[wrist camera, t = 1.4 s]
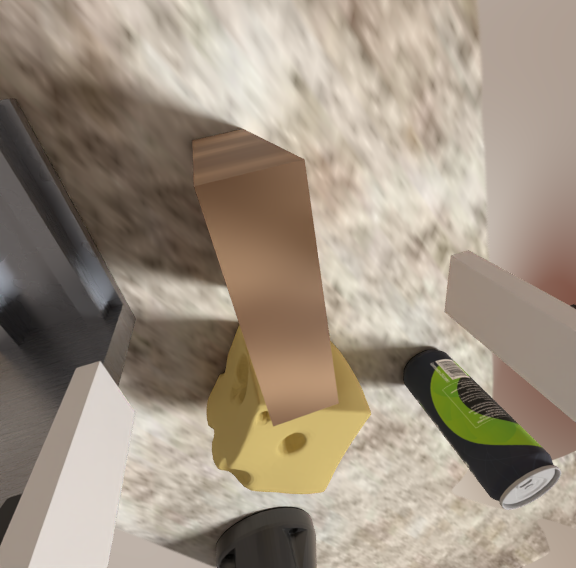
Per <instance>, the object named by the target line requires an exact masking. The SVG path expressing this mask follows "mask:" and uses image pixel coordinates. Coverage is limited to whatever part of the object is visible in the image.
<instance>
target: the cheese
mask: <svg viewBox="0 0 576 568" xmlns="http://www.w3.org/2000/svg"><path fill="white" fill-rule="evenodd" d="M330 344H331V351H332V358H333V366H334V373H335V380H336V387H337V394H338V401H339V404H336V405H333V406H330V407H327V408H325V409H322V410H319V411H316V412H313V413H310V414H308V415H305V416H302V417H299V418H296V419H293V420H291V421H288V422H285V423H282V424H279V425H276V426H274V427H273V424H272V421H271V418H270V415H269V412H268V409H267V406H266V403H265V400H264V397H263V394H262V391H261V388H260V385H259V382H258V379H257V376H256V373H255V370H254V367H253V364H252V361H251V358H250V355H249V352H248V349H247V346H246V343H245V340H244V337H243V334H242V331H241V328H240V325H239V326H238V329H237V332H236V334H235V337H234V339H233V342H232V345H231V348H230V350H229V354H228V357H227V364H226V370H225V373H224V374H220V375H219V377H218V379H217V381H216V384H215V386H214V388H213V390H212V391H211V394H210V396H209V398H208V402H207V421H208V425H209V426H210V427H211V428H213V429H214V439H213V442H212V454H213V460H214V463H215V465H216V466H217V468H218V469H220V470H226V471H229V472H231V473H232V474H233V475H234V476H235V477H236V478H237V479H238V480H239V482H240V483H241V484H242V485H243V486H244V487H246V488H248V489H250V490H252V491H261V492H279V493H290V494H312V493H320V492H324V491H325V489H326V487H327V486H328V484H329V482H330V480H331V478H332V476H333V474H334V471H335V469H336V467H337V466H338V464H339V462H340V460H341V459H342V457H343V455H344V454H345V452H346V451H347V449H348V447H349V446H350V444H351V442H352V441H353V439H354V438H355V437H356V435H357V434H358V432H359V431H360V429H361V428H362V426H363V425H364V423H365V422H366V421H367V419H368V418H369V417H370V415H371V411H370V409H369V406H368V404H367V401H366V398H365V396H364V393H363V390H362V388H361V386H360V384H359V382H358V380H357V378H356V376H355V374H354V373H353V371H352V369H351V368H350V366H349V364H348V363H347V361H346V360H345V358H344V357H343V355H342V354H341V352H340V351H339V350H338V349H337V348H336V346H335V345H334V344H333V343H332V342H331V341H330Z"/></svg>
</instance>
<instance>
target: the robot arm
mask: <svg viewBox="0 0 576 568" xmlns="http://www.w3.org/2000/svg"><path fill="white" fill-rule="evenodd" d="M444 312H445V313H447V314H448V315H449V316H450V317H451V318H453V319H454V320H455V321H456V322H457V323H458V324H460V325H461V326H462V327H463V328H464V329H466V330H467V331H468V332H469V333H470V334H471V335H473V336H474V337H475V338H476V339H477V340H479V341H480V342H481V343H482V344H483V345H485V346H486V347H487V348H488V349H489V350H490V351H492V352H493V353H494V354H495V355H496V356H498V357H499V358H500V359H501V360H502V361H503V362H505V363H506V364H507V365H508V366H509V367H511V368H512V369H513V370H514V371H515V372H516V373H518V374H519V375H520V376H521V377H523V378H524V379H525V380H526V381H527V382H528V383H530V384H531V385H532V386H533V387H534V388H535V389H537V390H538V391H539V392H540V393H541V394H543V395H544V396H545V397H546V398H547V399H549V400H550V401H551V402H552V403H553V404H555V405H556V406H557V407H558V408H559V409H560V410H561V411H563V412H564V413H565V414H566V415H567V416H569V417H570V418H571V419H572V420H573V421H575V422H576V305H574V304H573V305H571V306H569V305H567V304H565V303H563V302H562V301H560V300H558V299H556V298H555V297H553V296H551V295H549V294H547V293H545V292H543V291H542V290H540V289H538V288H536V287H535V286H533V285H531V284H529V283H527V282H525V281H523V280H522V279H520V278H518V277H516V276H514V275H513V274H511V273H509V272H507V271H505V270H504V269H502V268H500V267H498V266H496V265H494V264H493V263H491V262H489V261H487V260H485V259H484V258H482V257H480V256H478V255H476V254H474V253H473V252H471V251H469V250H468V251H464V252H461V253H458V254H454V255H451V260H450V268H449V277H448V285H447V294H446V303H445V311H444ZM134 417H135V411H134V409H133V408H132V406H131V405H130V403H129V402H128V400H127V399H126V398H125V396H124V395H123V393H122V392H121V390H120V389H119V387H118V386H117V385H116V383H115V382H114V380H113V379H112V377H111V376H110V374H109V373H108V372H107V370H106V369H105V367H104V366H103V364H102V363H101V362H100V361H98V362H95V363H91V364H88V365H85V366H81V367H78V368H76V370H75V372H74V374H73V377H72V379H71V381H70V384H69V386H68V388H67V391H66V393H65V395H64V398H63V400H62V402H61V405H60V407H59V409H58V412H57V414H56V416H55V419H54V421H53V424H52V426H51V428H50V431H49V433H48V435H47V438H46V440H45V442H44V445H43V447H42V449H41V452H40V454H39V456H38V459H37V461H36V463H35V466H34V468H33V470H32V473H31V475H30V477H29V480H28V482H27V484H26V487H25V489H24V491H23V493H22V494H19V495H16V496H13V497H10V498H7V500H6V501H5V502H4V504H3V505H2V506H1V508H0V568H108V563H109V557H110V551H111V546H112V540H113V535H114V529H115V524H116V518H117V512H118V507H119V501H120V496H121V490H122V484H123V479H124V473H125V468H126V462H127V456H128V451H129V445H130V440H131V434H132V428H133V423H134ZM216 563H217V568H317V564H316V534H315V529H314V526H313V523H312V519H311V517H310V515H309V514H308V513H307V512H305V511H303V510H301V509H296V508H278V509H272V510H268V511H264V512H261V513H258V514H255V515H252V516H250V517H248V518H246V519H244V520H242V521H240V522H238V523H237V524H235V525H234V526H232V527H231V528H230V529H228V530H227V531H226V532H225V533H224V534H223V535H222V536H221V538H220V539H219V541H218V543H217V545H216Z"/></svg>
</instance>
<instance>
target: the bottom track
mask: <svg viewBox="0 0 576 568" xmlns="http://www.w3.org/2000/svg"><path fill="white" fill-rule="evenodd" d="M134 323H135V317H134V315H133V313H132V311H131V309H130V308H129V306H128V304H127V302H126V300H125V298H124V297H123V295H122V293H121V291H120V289H119V287H118V286H117V284H116V282H115V280H114V278H113V277H112V275H111V273H110V271H109V269H108V267H107V266H106V264H105V262H104V260H103V258H102V256H101V255H100V253H99V251H98V249H97V247H96V245H95V244H94V242H93V240H92V238H91V236H90V234H89V233H88V231H87V229H86V227H85V225H84V223H83V222H82V220H81V218H80V216H79V214H78V212H77V211H76V209H75V207H74V205H73V203H72V201H71V200H70V198H69V196H68V194H67V192H66V191H65V189H64V187H63V185H62V183H61V181H60V180H59V178H58V176H57V174H56V172H55V170H54V169H53V167H52V165H51V163H50V161H49V159H48V158H47V156H46V154H45V152H44V150H43V148H42V147H41V145H40V143H39V141H38V139H37V137H36V136H35V134H34V132H33V130H32V128H31V126H30V125H29V123H28V121H27V119H26V117H25V115H24V114H23V112H22V110H21V108H20V106H19V105H18V103H17V101H16V99H5V100H0V508H1V506H2V505H3V504H4V502H5V501H6V500H7V498H10V497H13V496H16V495H19V494H22V493H23V491H24V489H25V487H26V484H27V482H28V480H29V477H30V475H31V473H32V470H33V468H34V466H35V463H36V461H37V459H38V456H39V454H40V452H41V449H42V447H43V445H44V442H45V440H46V438H47V435H48V433H49V431H50V428H51V426H52V424H53V421H54V419H55V416H56V414H57V412H58V409H59V407H60V405H61V402H62V400H63V398H64V395H65V393H66V391H67V388H68V386H69V384H70V381H71V379H72V377H73V374H74V372H75V370H76V368H78V367H81V366H85V365H88V364H91V363H95V362H98V361H100V362H101V363H102V364H103V366H104V367H105V369H106V370H107V372H108V373H109V374H110V376H111V377H112V379H113V380H114V382H115V383H116V385H117V386H119V382H120V378H121V374H122V370H123V366H124V362H125V358H126V355H127V351H128V347H129V343H130V339H131V335H132V331H133V327H134Z"/></svg>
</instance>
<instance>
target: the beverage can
mask: <svg viewBox="0 0 576 568" xmlns="http://www.w3.org/2000/svg"><path fill="white" fill-rule="evenodd" d="M404 383H405V385H406V387H407V388H408V389H409V391H410V392H411V393H412V395H413V396H414V397H415V398H416V400H417V401H418V402H419V404H420V405H421V406H422V408H423V409H424V410H425V412H426V413H427V414H428V416H429V417H430V418H431V419H432V421H433V422H434V423H435V425H436V426H437V427H438V429H439V430H440V431H441V433H442V434H443V435H444V437H445V438H446V439H447V441H448V442H449V443H450V444H451V446H452V447H453V448H454V450H455V451H456V452H457V454H458V455H459V456H460V458H461V459H462V460H463V462H464V463H465V464H466V465H467V467H468V468H469V469H470V471H471V472H472V473H473V475H474V476H475V477H476V479H477V480H478V481H479V483H480V484H481V485H482V487H483V488H484V489H485V490H486V492H487V493H488V494H489V496H490V497H491V498H493V499H495V500H498V501H499V502H500V505H501V506H502V508H504V509H507V510H510V509H516V508H519V507H522V506H524V505H527V504H529V503H531V502H532V501H534V500H536V499H537V498H539V497H541V496H542V495H543V494H545V493H546V492H547V491H548V490H550V489H551V488H552V487H553V486H554V485H555V484H556V482H557V481H558V480H559V478H560V476H561V470H560V469H559V468H558V467H557V466H554V465H553V463H552V459H551V457H550V455H549V454H548V453H547V452H546V451H545V450H544V449H543V448H542V447H541V446H540V445H539V444H538V443H537V442H536V441H535V440H534V439H533V438H532V437H531V436H530V435H529V434H528V433H527V432H526V431H525V430H524V429H523V428H522V427H521V426H520V425H519V424H518V423H517V422H516V421H514V419H512V417H511V416H510V415H509V414H508V413H507V412H506V411H505V410H503V409H502V408H501V407H500V406H499V405H498V404H497V403H496V402H495V401H494V400H493V399H492V398H491V397H490V396H489V395H488V394H487V393H486V392H485V391H484V390H483V389H482V388H481V387H480V386H479V385H478V384H477V383H476V382H475V381H474V380H473V379H472V378H471V377H470V376H469V375H468V374H467V373H466V372H465V371H464V370H463V369H462V368H461V367H460V366H459V365H458V364H457V363H456V362H455V361H454V360H452V359H451V358H450V357H449V356H448V355H447V354H446V353H445V352H442V351H436V350H427V351H424V352H421V353H419V354H418V355H416V356H415V357H413V358H412V359H411V360H410V361H409V363H408V364H407V365H406V367H405V370H404Z"/></svg>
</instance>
